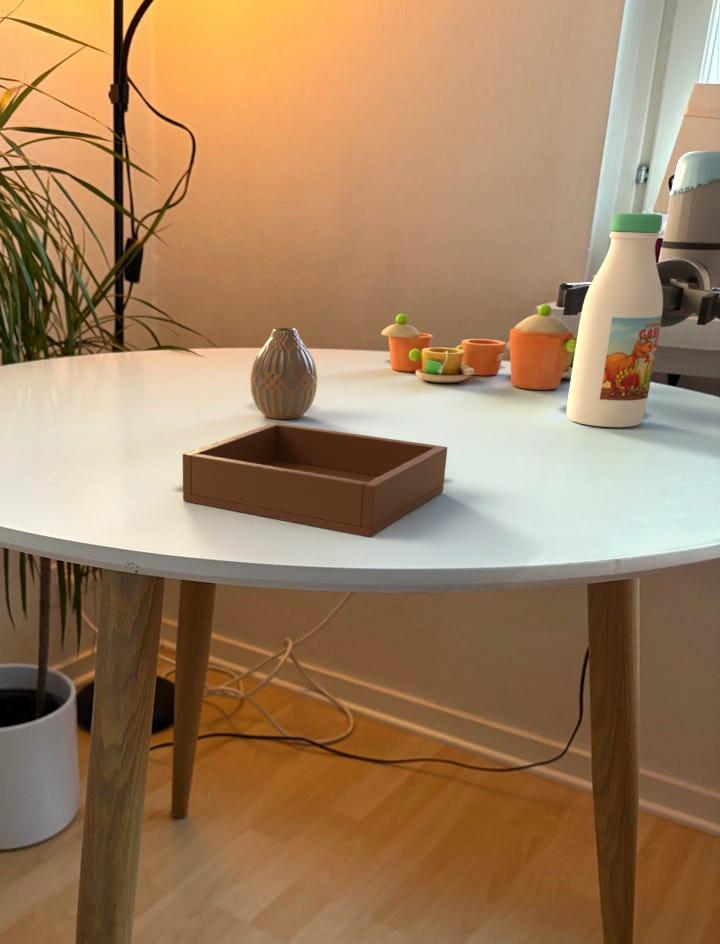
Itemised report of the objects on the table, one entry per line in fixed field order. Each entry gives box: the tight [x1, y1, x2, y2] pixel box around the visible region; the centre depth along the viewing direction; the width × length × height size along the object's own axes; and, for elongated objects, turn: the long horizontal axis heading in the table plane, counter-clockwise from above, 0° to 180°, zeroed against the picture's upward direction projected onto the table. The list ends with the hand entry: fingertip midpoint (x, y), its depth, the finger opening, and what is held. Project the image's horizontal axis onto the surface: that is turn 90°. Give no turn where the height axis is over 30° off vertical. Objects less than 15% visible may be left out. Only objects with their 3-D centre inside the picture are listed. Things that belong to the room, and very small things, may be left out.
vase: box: [250, 327, 318, 420], centre depth 102 cm, size 7×7×9 cm
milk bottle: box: [565, 212, 663, 428], centre depth 99 cm, size 8×8×20 cm
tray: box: [182, 422, 448, 538], centre depth 75 cm, size 16×14×4 cm
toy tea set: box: [381, 303, 577, 391], centre depth 125 cm, size 26×16×10 cm, turn 74°
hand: (633, 306), depth 103 cm, fingers open, 13 cm apart
